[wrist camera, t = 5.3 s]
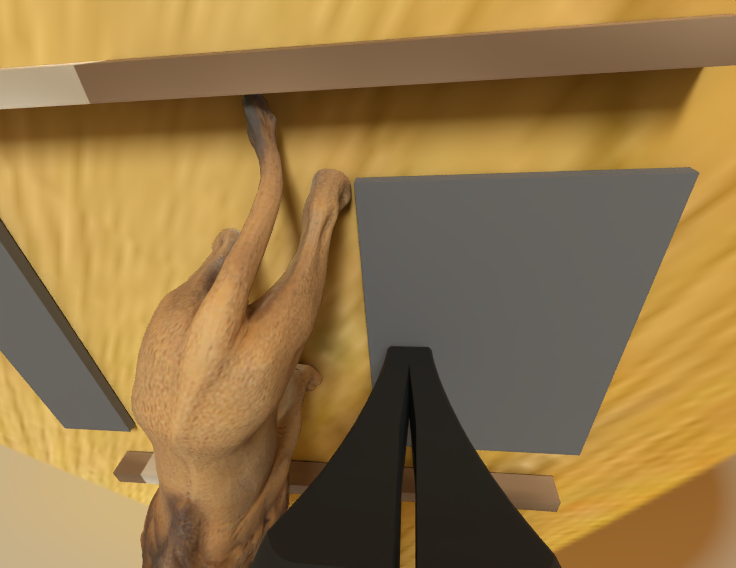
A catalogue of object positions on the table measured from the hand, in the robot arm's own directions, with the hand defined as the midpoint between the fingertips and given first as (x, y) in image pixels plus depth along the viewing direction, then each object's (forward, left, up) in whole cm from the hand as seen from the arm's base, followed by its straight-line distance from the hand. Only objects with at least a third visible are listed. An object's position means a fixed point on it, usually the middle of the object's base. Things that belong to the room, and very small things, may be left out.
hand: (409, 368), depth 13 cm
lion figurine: (+1, +4, -2) cm, 5 cm away
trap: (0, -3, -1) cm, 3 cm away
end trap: (0, +15, -1) cm, 15 cm away
